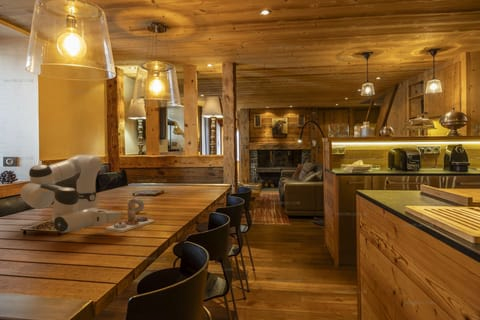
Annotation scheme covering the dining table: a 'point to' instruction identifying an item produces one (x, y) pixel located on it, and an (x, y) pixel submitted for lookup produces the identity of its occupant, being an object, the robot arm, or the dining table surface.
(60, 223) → the robot arm
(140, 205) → the donut
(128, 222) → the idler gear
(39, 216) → the dining table surface
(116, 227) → the gear board
